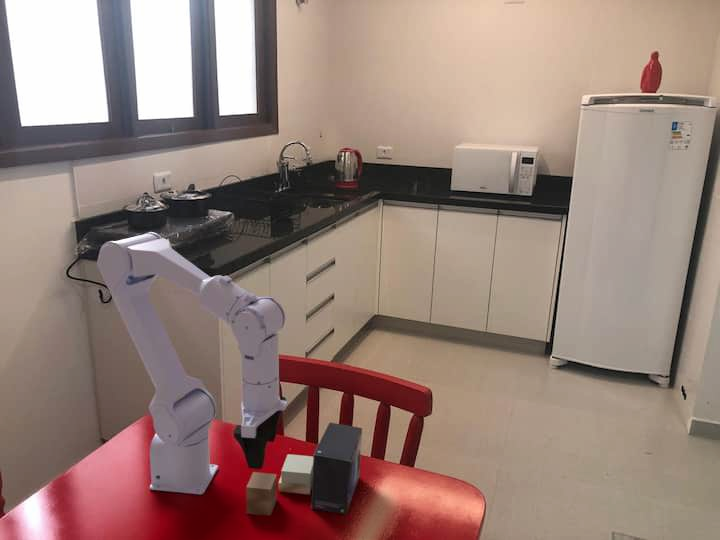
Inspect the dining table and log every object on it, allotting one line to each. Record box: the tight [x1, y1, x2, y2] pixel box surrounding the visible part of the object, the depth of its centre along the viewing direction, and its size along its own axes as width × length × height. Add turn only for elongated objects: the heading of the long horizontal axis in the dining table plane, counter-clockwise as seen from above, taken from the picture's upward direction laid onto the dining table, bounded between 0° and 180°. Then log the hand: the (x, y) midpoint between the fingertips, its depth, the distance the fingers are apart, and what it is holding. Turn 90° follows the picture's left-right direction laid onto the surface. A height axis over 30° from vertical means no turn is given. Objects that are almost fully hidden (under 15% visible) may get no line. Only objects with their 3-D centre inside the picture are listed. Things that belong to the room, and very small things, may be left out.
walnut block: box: [245, 471, 278, 517], centre depth 94 cm, size 4×4×5 cm
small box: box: [310, 422, 363, 515], centre depth 97 cm, size 11×6×10 cm, turn 168°
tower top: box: [280, 453, 313, 485], centre depth 100 cm, size 5×5×2 cm
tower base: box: [277, 476, 313, 495], centre depth 101 cm, size 6×6×2 cm
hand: (262, 453), depth 92 cm, fingers open, 7 cm apart
